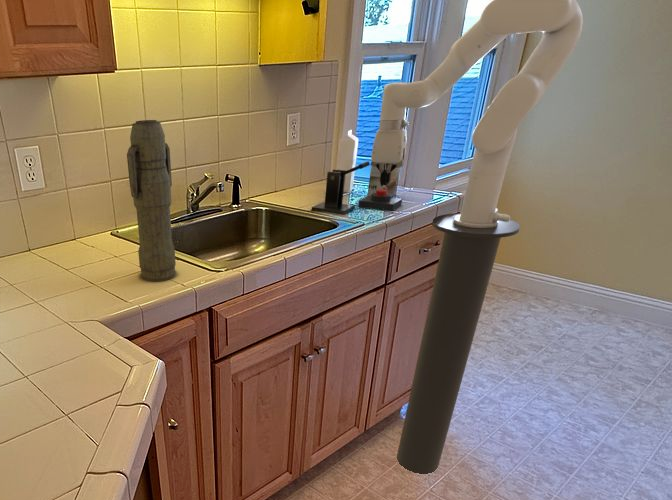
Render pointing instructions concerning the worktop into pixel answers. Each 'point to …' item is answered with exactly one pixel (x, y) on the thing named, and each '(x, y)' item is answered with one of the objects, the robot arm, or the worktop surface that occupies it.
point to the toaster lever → (355, 168)
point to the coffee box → (376, 184)
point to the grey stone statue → (152, 199)
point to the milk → (347, 158)
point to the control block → (380, 202)
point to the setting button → (381, 192)
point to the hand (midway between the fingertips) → (384, 184)
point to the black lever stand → (334, 195)
